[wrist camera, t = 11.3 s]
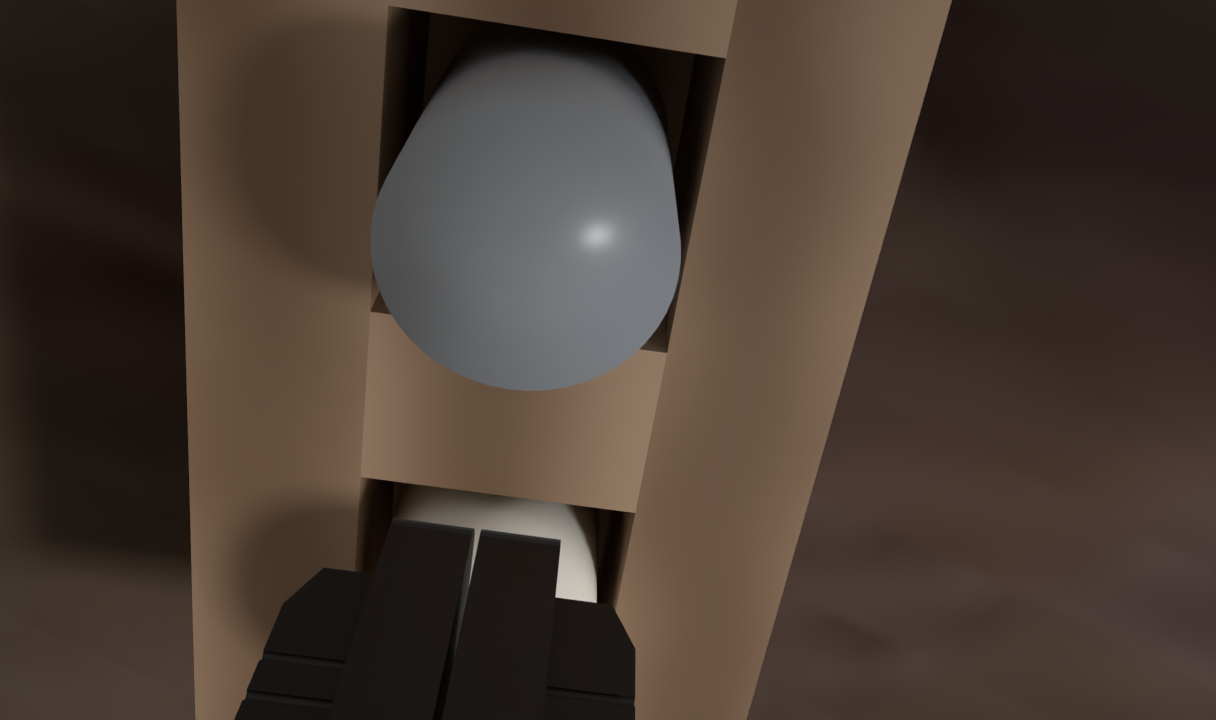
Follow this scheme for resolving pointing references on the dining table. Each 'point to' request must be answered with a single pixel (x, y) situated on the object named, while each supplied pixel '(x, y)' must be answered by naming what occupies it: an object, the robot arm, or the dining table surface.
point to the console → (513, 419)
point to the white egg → (516, 527)
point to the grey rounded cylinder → (532, 212)
